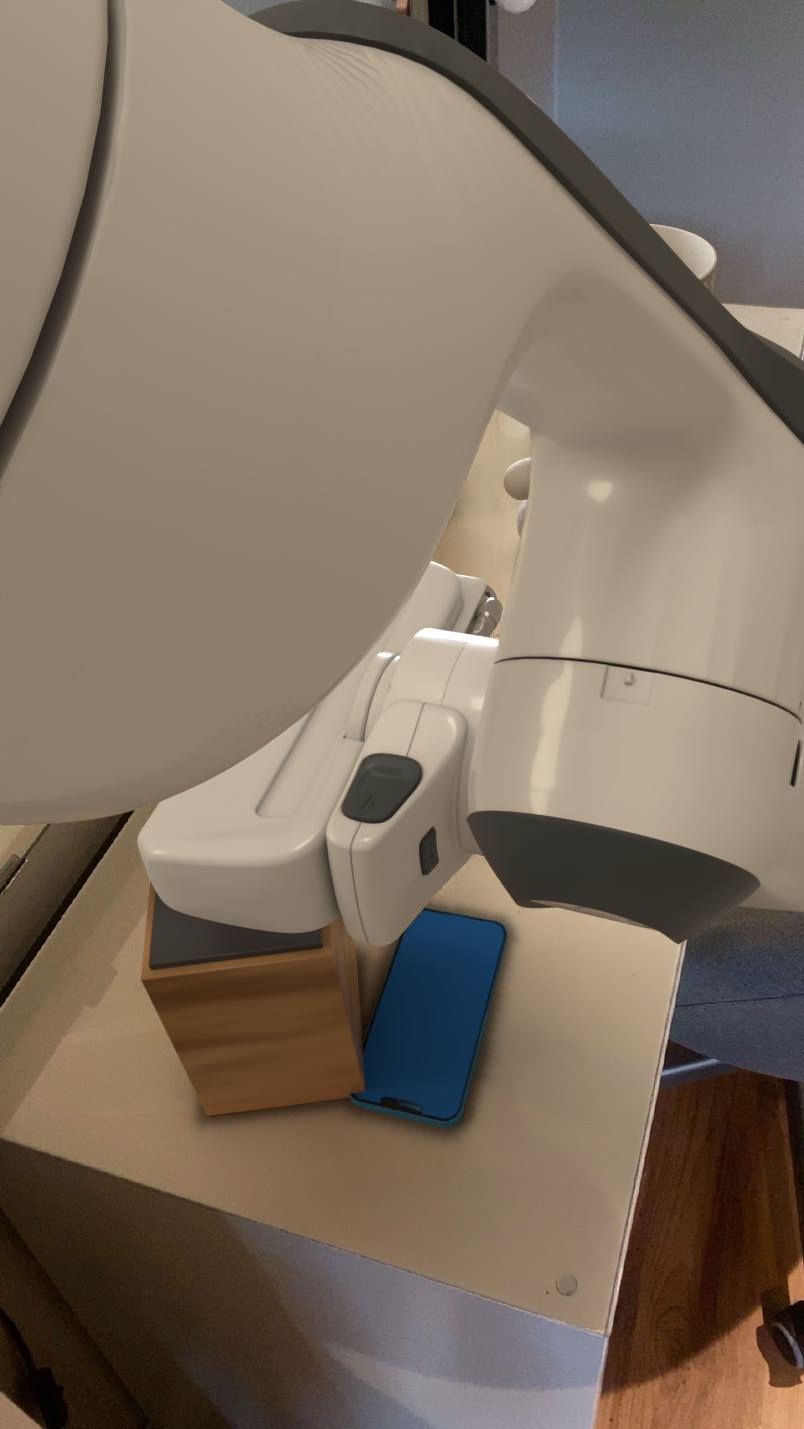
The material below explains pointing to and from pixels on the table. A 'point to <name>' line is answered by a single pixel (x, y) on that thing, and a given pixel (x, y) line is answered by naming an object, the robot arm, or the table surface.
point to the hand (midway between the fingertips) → (157, 682)
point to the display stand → (256, 1009)
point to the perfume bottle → (519, 486)
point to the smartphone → (431, 1017)
